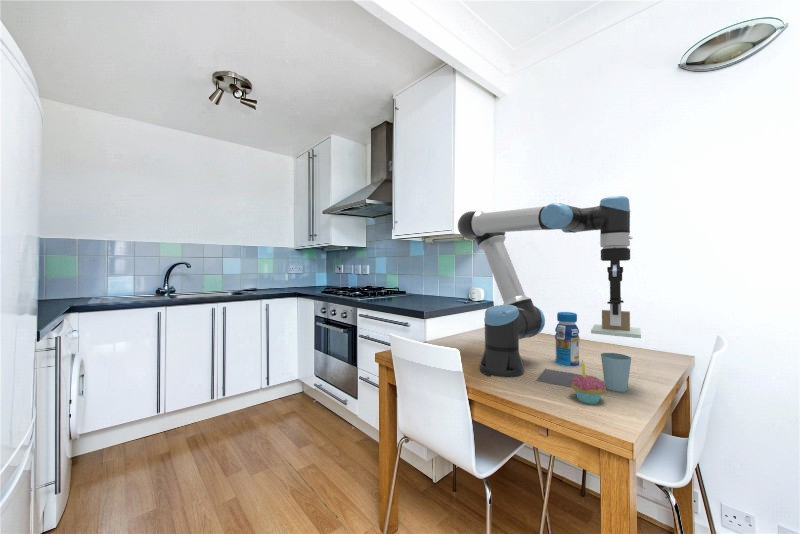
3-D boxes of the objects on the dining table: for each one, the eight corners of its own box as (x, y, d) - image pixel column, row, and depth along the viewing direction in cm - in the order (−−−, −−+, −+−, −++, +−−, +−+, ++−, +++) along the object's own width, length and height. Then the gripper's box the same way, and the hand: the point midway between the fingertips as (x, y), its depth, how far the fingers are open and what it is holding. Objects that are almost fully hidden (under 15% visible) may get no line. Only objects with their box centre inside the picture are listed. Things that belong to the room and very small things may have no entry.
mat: (535, 382, 104) (535, 380, 104) (545, 370, 116) (545, 368, 116) (588, 393, 95) (588, 391, 95) (593, 378, 107) (593, 376, 107)
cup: (637, 392, 95) (637, 357, 95) (621, 396, 92) (620, 360, 92) (611, 384, 102) (611, 351, 102) (595, 387, 99) (595, 354, 99)
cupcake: (591, 410, 83) (591, 364, 83) (563, 398, 91) (563, 356, 91) (612, 404, 87) (612, 360, 87) (583, 393, 94) (583, 353, 95)
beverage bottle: (552, 361, 127) (552, 311, 127) (575, 362, 125) (575, 311, 125) (558, 367, 119) (558, 314, 119) (583, 369, 117) (583, 314, 117)
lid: (591, 333, 96) (590, 311, 96) (594, 327, 106) (594, 307, 106) (640, 338, 89) (640, 315, 89) (640, 331, 98) (639, 310, 98)
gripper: (630, 245, 89) (631, 330, 89) (630, 248, 101) (630, 322, 101) (598, 247, 93) (599, 327, 93) (602, 249, 106) (602, 320, 106)
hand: (615, 324), depth 97 cm, fingers closed on lid, 2 cm apart
